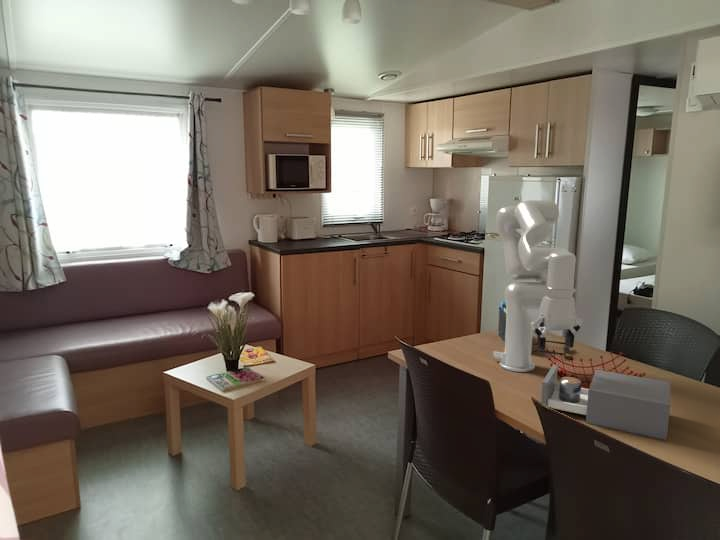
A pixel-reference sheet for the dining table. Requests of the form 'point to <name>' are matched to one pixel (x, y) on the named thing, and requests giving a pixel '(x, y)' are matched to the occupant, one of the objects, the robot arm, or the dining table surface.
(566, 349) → the eyeglasses
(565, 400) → the tin
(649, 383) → the block
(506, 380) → the dining table surface
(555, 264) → the robot arm
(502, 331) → the game console
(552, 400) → the tray
